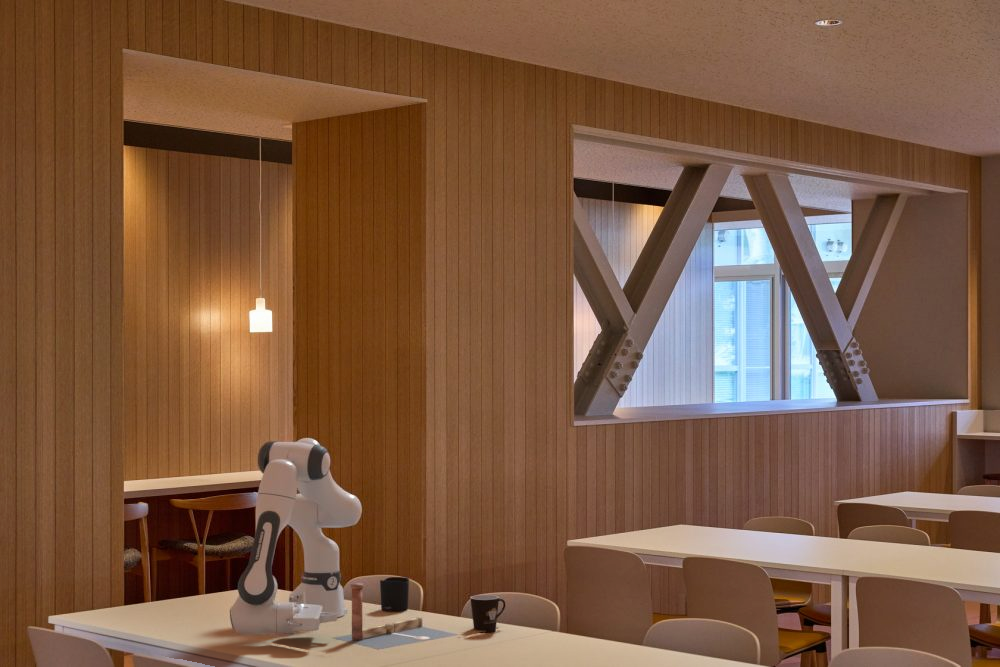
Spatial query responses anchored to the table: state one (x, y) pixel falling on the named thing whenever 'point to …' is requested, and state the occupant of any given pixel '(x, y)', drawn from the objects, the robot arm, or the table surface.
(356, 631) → the brown wooden l-shaped piece
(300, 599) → the robot arm
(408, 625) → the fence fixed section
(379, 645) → the board
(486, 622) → the coffee mug
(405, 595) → the pen holder
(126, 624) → the table surface
